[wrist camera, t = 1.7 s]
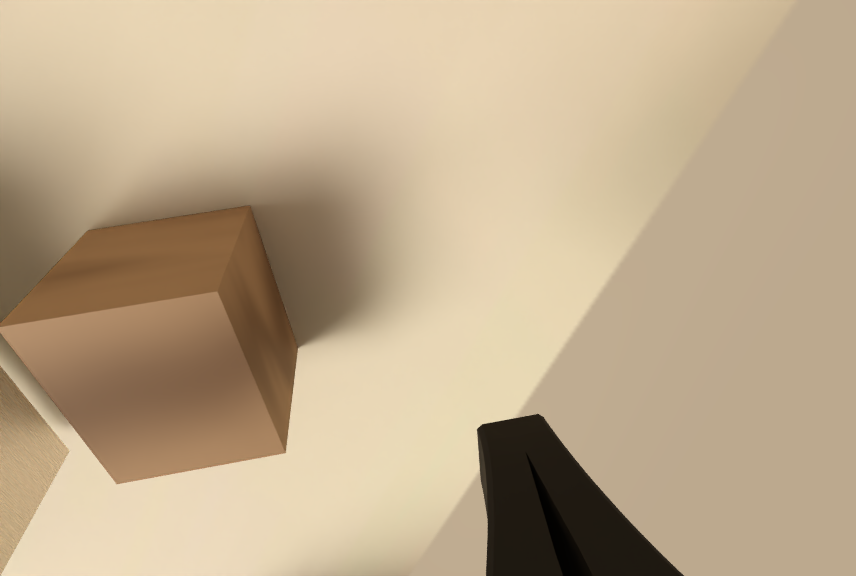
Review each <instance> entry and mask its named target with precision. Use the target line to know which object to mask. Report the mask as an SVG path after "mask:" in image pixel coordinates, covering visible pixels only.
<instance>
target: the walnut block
mask: <svg viewBox="0 0 856 576" xmlns="http://www.w3.org/2000/svg"><path fill="white" fill-rule="evenodd" d="M0 333H1V334H2V336H3V337H4V338H5V340H6V341H7V342H8V343H9V345H10V346H11V347H12V349H13V350H14V351H15V353H16V354H17V355H18V356H19V358H20V359H21V360H22V362H23V363H24V364H25V366H26V367H27V368H28V369H29V371H30V372H31V373H32V375H33V376H34V377H35V378H36V380H37V381H38V382H39V384H40V385H41V386H42V388H43V389H44V390H45V391H46V393H47V394H48V395H49V397H50V398H51V399H52V401H53V402H54V403H55V404H56V406H57V407H58V408H59V410H60V411H61V412H62V414H63V415H64V416H65V417H66V419H67V420H68V421H69V423H70V424H71V425H72V427H73V428H74V429H75V430H76V432H77V433H78V434H79V436H80V437H81V438H82V439H83V441H84V442H85V443H86V445H87V446H88V447H89V449H90V450H91V451H92V452H93V454H94V455H95V456H96V458H97V459H98V460H99V462H100V463H101V464H102V465H103V467H104V468H105V469H106V471H107V472H108V473H109V475H110V476H111V477H112V478H113V480H114V481H115V482H116V484H120V483H126V482H131V481H137V480H142V479H147V478H153V477H158V476H164V475H169V474H175V473H180V472H185V471H191V470H196V469H202V468H207V467H212V466H218V465H223V464H229V463H234V462H240V461H245V460H250V459H256V458H261V457H267V456H272V455H277V454H283V453H286V445H287V436H288V428H289V419H290V411H291V402H292V394H293V385H294V377H295V368H296V360H297V351H298V347H297V344H296V341H295V338H294V335H293V332H292V329H291V326H290V323H289V320H288V317H287V314H286V311H285V308H284V305H283V302H282V299H281V296H280V293H279V290H278V287H277V284H276V282H275V279H274V276H273V273H272V270H271V267H270V264H269V261H268V258H267V255H266V252H265V249H264V246H263V243H262V240H261V237H260V234H259V231H258V228H257V225H256V222H255V219H254V216H253V213H252V210H251V207H250V206H244V207H237V208H231V209H224V210H218V211H211V212H205V213H198V214H192V215H185V216H179V217H173V218H166V219H160V220H153V221H147V222H140V223H134V224H127V225H121V226H114V227H108V228H102V229H95V230H89V231H87V232H86V233H85V234H84V235H83V236H82V237H81V238H80V239H79V240H78V241H77V243H76V244H75V245H74V246H73V247H72V248H71V249H70V250H69V251H68V252H67V253H66V254H65V255H64V256H63V257H62V258H61V260H60V261H59V262H58V263H57V264H56V265H55V266H54V267H53V268H52V269H51V270H50V271H49V272H48V273H47V274H46V275H45V277H44V278H43V279H42V280H41V281H40V282H39V283H38V284H37V285H36V286H35V287H34V288H33V289H32V290H31V291H30V292H29V294H28V295H27V296H26V297H25V298H24V299H23V300H22V301H21V302H20V303H19V304H18V305H17V306H16V307H15V308H14V309H13V311H12V312H11V313H10V314H9V315H8V316H7V317H6V318H5V319H4V320H3V321H2V322H1V323H0Z"/></svg>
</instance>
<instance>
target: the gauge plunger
mask: <svg viewBox="0 0 856 576" xmlns="http://www.w3.org/2000/svg"><path fill="white" fill-rule="evenodd" d="M68 453H69V450H68V448H67V447H66V446H65V445H64V443H63V442H62V441H61V440H60V439H59V437H58V436H57V435H56V434H55V432H54V431H53V430H52V429H51V427H50V426H49V425H48V424H47V423H46V421H45V420H44V419H43V418H42V416H41V415H40V414H39V413H38V412H37V410H36V409H35V408H34V407H33V405H32V404H31V403H30V402H29V400H28V399H27V398H26V397H25V396H24V394H23V393H22V392H21V391H20V389H19V388H18V387H17V386H16V384H15V383H14V382H13V381H12V380H11V378H10V377H9V376H8V375H7V373H6V372H5V371H4V370H3V368H2V367H1V366H0V575H1V574H2V572H3V570H4V568H5V566H6V565H7V563H8V561H9V559H10V557H11V555H12V554H13V552H14V550H15V548H16V546H17V545H18V543H19V541H20V539H21V537H22V536H23V534H24V532H25V530H26V528H27V527H28V525H29V523H30V521H31V519H32V518H33V516H34V514H35V512H36V510H37V509H38V507H39V505H40V503H41V501H42V500H43V498H44V496H45V494H46V492H47V491H48V489H49V487H50V485H51V483H52V482H53V480H54V478H55V476H56V474H57V473H58V471H59V469H60V467H61V465H62V464H63V462H64V460H65V458H66V456H67V455H68Z"/></svg>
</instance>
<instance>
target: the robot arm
mask: <svg viewBox="0 0 856 576" xmlns="http://www.w3.org/2000/svg"><path fill="white" fill-rule="evenodd" d="M477 434H478V448H479V462H480V475H481V483H482V488H483V493H484V499H485V505H486V511H487V518H488V541H487V566H486V576H684V575H683V574H681V573H680V572H679V571H678V570H677V569H676V568H675V567H674V566H673V565H672V564H671V563H670V562H669V561H668V560H667V559H666V558H665V557H664V556H663V555H662V554H661V553H660V552H659V551H658V550H657V549H656V548H655V547H654V546H653V545H652V544H651V543H650V542H649V541H648V540H647V539H646V538H645V537H644V536H643V535H642V534H641V533H640V532H639V531H638V530H637V529H636V528H635V527H634V526H633V525H632V524H631V523H630V521H629V520H628V519H627V518H626V517H625V516H624V515H623V514H622V513H621V512H620V511H619V510H618V508H616V506H615V505H614V504H613V503H612V502H611V501H610V499H609V498H608V497H607V496H606V495H605V494H604V493H603V492H602V491H601V489H600V488H599V487H598V486H597V485H596V484H595V483H594V482H593V480H592V479H591V478H590V477H589V476H588V474H587V473H586V472H585V471H584V470H583V468H582V467H581V466H580V465H579V463H578V462H577V461H576V460H575V459H574V458H573V456H572V455H571V454H570V452H569V451H568V450H567V448H566V447H565V446H564V445H563V443H562V442H561V441H560V439H559V438H558V437H557V436H556V434H555V433H554V432H553V430H552V429H551V428H550V426H549V424H548V423H547V422H546V421H545V419H544V417H542V416H541V415H539V414H536V415H531V416H525V417H520V418H514V419H509V420H503V421H498V422H493V423H487V424H482V425H481V426H480V427H479V428H478V429H477Z"/></svg>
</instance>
